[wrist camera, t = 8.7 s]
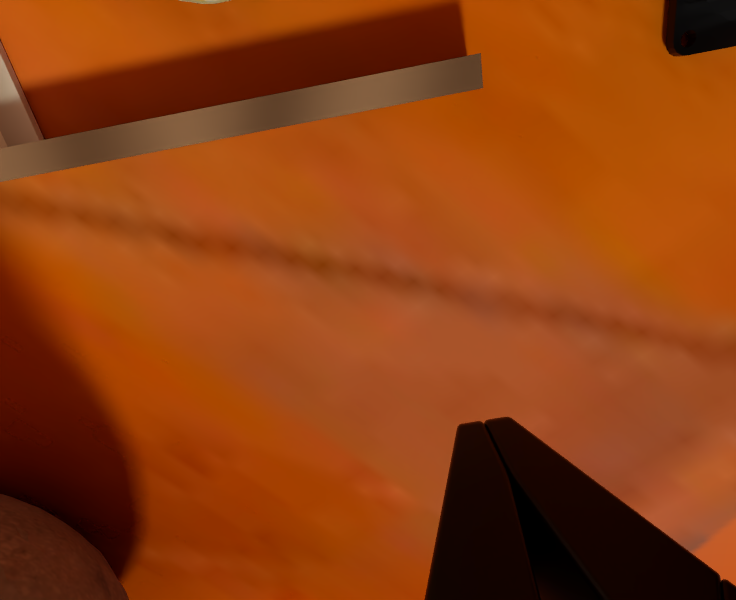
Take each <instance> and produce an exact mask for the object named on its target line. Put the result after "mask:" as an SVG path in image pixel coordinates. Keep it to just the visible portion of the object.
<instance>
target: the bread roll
mask: <svg viewBox="0 0 736 600" xmlns="http://www.w3.org/2000/svg"><path fill="white" fill-rule="evenodd" d="M179 1H186V2H194V3H200V4H215V3H221V2H225V1H229V0H179Z"/></svg>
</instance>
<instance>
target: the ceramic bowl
mask: <svg viewBox="0 0 736 600" xmlns="http://www.w3.org/2000/svg"><path fill="white" fill-rule="evenodd" d="M0 600H129V599H128V596H127V593H126V591H125V589H124V588H123V586H122V585H121V583H120V582H119V580H118V579H117V577H116V575H115V574H114V572H113V570H112V569H111V567H110V565H109V564H108V562H107V561H106V559H105V558H104V556H103V555H102V553H101V552H100V551H99V550H98V549H97V548H95V547H94V546H93V545H92V544H91V543H89V542H88V541H87V540H86V539H85V538H84V537H83V536H82V535H81V534H79V533H78V532H77V531H76V530H74V529H73V528H71V527H70V526H69V525H67V524H66V523H64V522H63V521H61V520H60V519H58V518H56V517H54V516H53V515H51V514H49V513H48V512H46V511H44V510H43V509H41V508H39V507H36V506H33V505H31V504H28V503H26V502H23V501H21V500H18V499H16V498H13V497H10V496H7V495H3V494H0Z"/></svg>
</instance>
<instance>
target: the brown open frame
mask: <svg viewBox="0 0 736 600" xmlns="http://www.w3.org/2000/svg"><path fill="white" fill-rule="evenodd" d="M480 88H483V82H482V67H481V53H479V54H474V55H469V56H464V57H459V58H454V59H449V60H444V61H439V62H434V63H429V64H424V65H419V66H414V67H409V68H404V69H399V70H394V71H389V72H384V73H378V74H373V75H368V76H363V77H358V78H353V79H348V80H343V81H338V82H333V83H328V84H323V85H318V86H313V87H308V88H303V89H298V90H293V91H288V92H283V93H278V94H272V95H267V96H262V97H257V98H252V99H247V100H242V101H237V102H232V103H227V104H222V105H217V106H212V107H207V108H202V109H197V110H192V111H187V112H182V113H177V114H172V115H166V116H161V117H156V118H151V119H146V120H141V121H136V122H131V123H126V124H121V125H116V126H111V127H106V128H101V129H96V130H91V131H86V132H81V133H76V134H71V135H66V136H60V137H55V138H50V139H45V140H44V137H43V135H42V133H41V131H40V128H39V126H38V124H37V122H36V120H35V117H34V115H33V113H32V111H31V108H30V106H29V104H28V102H27V99H26V97H25V95H24V93H23V90H22V88H21V86H20V84H19V81H18V79H17V77H16V75H15V72H14V70H13V68H12V66H11V63H10V61H9V59H8V57H7V54H6V52H5V50H4V48H3V46H2V43H1V41H0V182H2V181H7V180H12V179H17V178H23V177H28V176H33V175H38V174H43V173H48V172H53V171H59V170H64V169H69V168H74V167H79V166H84V165H89V164H95V163H100V162H105V161H110V160H115V159H120V158H126V157H131V156H136V155H141V154H146V153H151V152H156V151H162V150H167V149H172V148H177V147H182V146H187V145H192V144H198V143H203V142H208V141H213V140H218V139H223V138H228V137H234V136H239V135H244V134H249V133H254V132H259V131H264V130H270V129H275V128H280V127H285V126H290V125H295V124H300V123H306V122H311V121H316V120H321V119H326V118H331V117H336V116H342V115H347V114H352V113H357V112H362V111H367V110H372V109H378V108H383V107H388V106H393V105H398V104H403V103H408V102H414V101H419V100H424V99H429V98H434V97H439V96H444V95H450V94H455V93H460V92H465V91H470V90H475V89H480Z"/></svg>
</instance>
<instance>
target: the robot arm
mask: <svg viewBox="0 0 736 600" xmlns="http://www.w3.org/2000/svg"><path fill="white" fill-rule="evenodd" d="M685 32H686V33H687V34H688V42H687V44H686V45H685V46H684V47H683V46H682V45H681V38H682V35H683V34H684V33H685ZM733 46H736V0H669V11H668V23H667V36H666V48H667V51H668V52H669V54H671V55H673V56H686V55H691V54H697V53H702V52H707V51H712V50H717V49H722V48H728V47H733ZM425 600H736V586H735V585H733V584H732V583H731V582H729V581H728V580H725V579H723V580H722V581H721V580H720V575H719V574H718V573H717V572H716V571H714V570H713V569H712V568H710V567H709V566H708V565H706V564H705V563H704V562H702V561H701V560H700V559H698V558H697V557H696V556H694V555H693V554H692V553H690V552H689V551H688V550H686V549H685V548H684V547H682V546H681V545H680V544H678V543H677V542H676V541H674V540H673V539H672V538H670V537H669V536H668V535H666V534H665V533H664V532H662V531H661V530H660V529H658V528H657V527H656V526H654V525H653V524H652V523H650V522H649V521H648V520H646V519H645V518H644V517H642V516H641V515H640V514H638V513H637V512H636V511H634V510H633V509H632V508H630V507H629V506H628V505H626V504H625V503H624V502H622V501H621V500H620V499H618V498H617V497H616V496H614V495H613V494H612V493H610V492H609V491H608V490H606V489H605V488H604V487H602V486H601V485H600V484H598V483H597V482H596V481H594V480H593V479H592V478H590V477H589V476H588V475H586V474H585V473H584V472H582V471H581V470H580V469H578V468H577V467H576V466H574V465H573V464H572V463H571V462H569V461H568V460H567V459H565V458H564V457H563V456H561V455H560V454H559V453H557V452H556V451H555V450H553V449H552V448H551V447H549V446H548V445H547V444H545V443H544V442H543V441H541V440H540V439H539V438H537V437H536V436H535V435H533V434H532V433H531V432H529V431H528V430H527V429H525V428H524V427H523V426H521V425H520V424H519V423H517V422H516V421H515V420H513V419H512V418H509V417H501V418H495V419H489V420H486V421H485V423H483V422H481V421H476V422H470V423H464V424H460V425H459V426H458V428H457V432H456V437H455V442H454V448H453V453H452V458H451V463H450V469H449V474H448V479H447V485H446V490H445V495H444V500H443V506H442V511H441V516H440V521H439V527H438V532H437V537H436V542H435V548H434V553H433V558H432V563H431V569H430V574H429V579H428V585H427V590H426V595H425Z"/></svg>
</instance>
